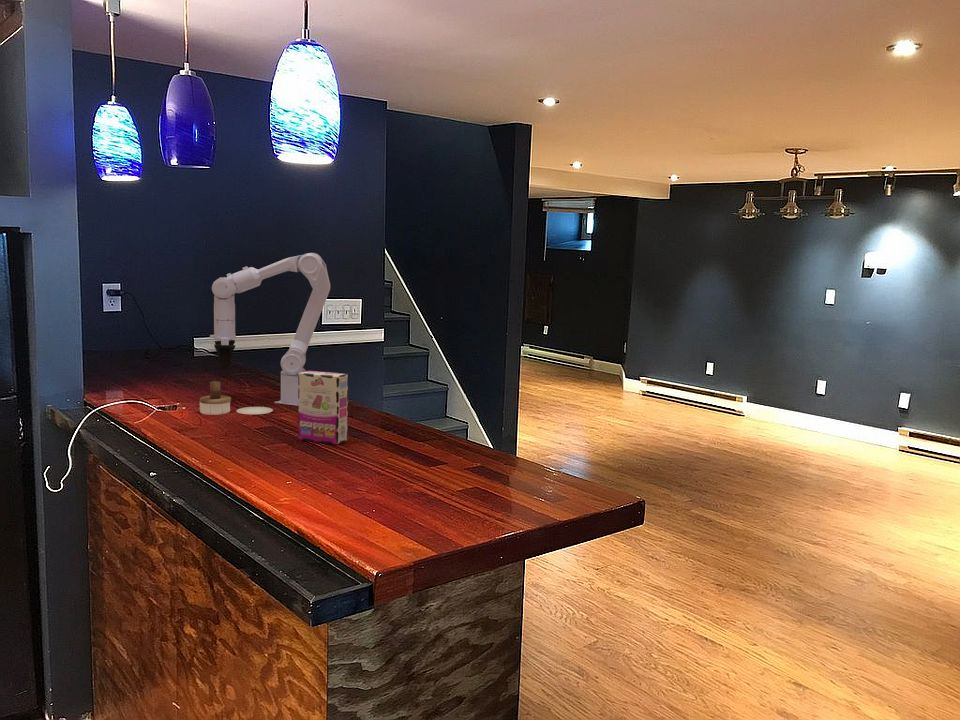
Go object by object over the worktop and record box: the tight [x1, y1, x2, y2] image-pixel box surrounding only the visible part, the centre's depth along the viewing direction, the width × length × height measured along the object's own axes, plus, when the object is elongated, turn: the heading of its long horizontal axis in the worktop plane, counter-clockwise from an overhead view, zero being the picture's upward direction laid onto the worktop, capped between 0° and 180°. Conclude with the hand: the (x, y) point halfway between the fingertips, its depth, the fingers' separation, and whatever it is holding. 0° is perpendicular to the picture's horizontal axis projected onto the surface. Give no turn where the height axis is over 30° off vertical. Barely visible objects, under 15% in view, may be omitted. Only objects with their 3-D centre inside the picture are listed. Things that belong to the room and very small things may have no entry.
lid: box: [199, 380, 232, 404], centre depth 209 cm, size 8×8×5 cm
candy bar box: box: [297, 370, 349, 445], centre depth 186 cm, size 11×5×16 cm, turn 70°
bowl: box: [199, 401, 231, 416], centre depth 210 cm, size 8×8×4 cm
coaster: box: [236, 406, 274, 415], centre depth 213 cm, size 10×10×1 cm
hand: (225, 367), depth 223 cm, fingers open, 7 cm apart
